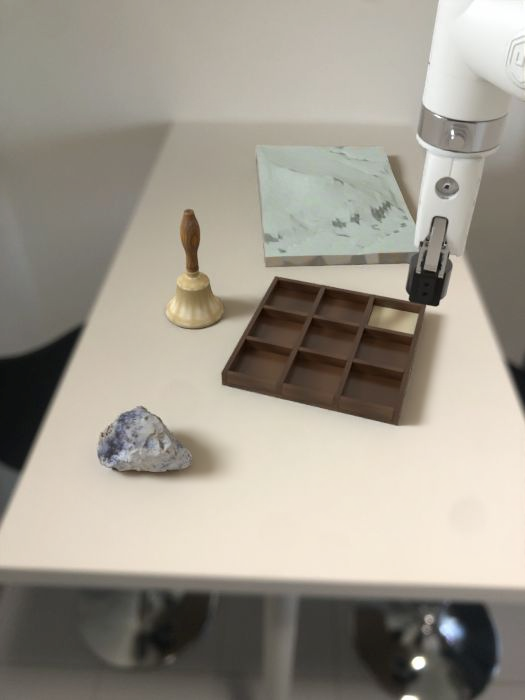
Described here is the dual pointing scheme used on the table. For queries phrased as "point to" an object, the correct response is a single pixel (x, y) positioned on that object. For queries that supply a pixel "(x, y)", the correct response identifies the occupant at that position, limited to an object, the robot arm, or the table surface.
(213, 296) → the hand bell
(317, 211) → the decorative slab
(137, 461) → the mineral specimen
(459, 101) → the robot arm
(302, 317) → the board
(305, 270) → the table surface
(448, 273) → the dark grey cylinder
